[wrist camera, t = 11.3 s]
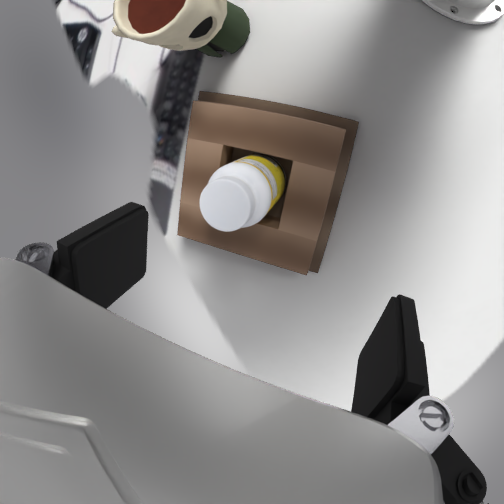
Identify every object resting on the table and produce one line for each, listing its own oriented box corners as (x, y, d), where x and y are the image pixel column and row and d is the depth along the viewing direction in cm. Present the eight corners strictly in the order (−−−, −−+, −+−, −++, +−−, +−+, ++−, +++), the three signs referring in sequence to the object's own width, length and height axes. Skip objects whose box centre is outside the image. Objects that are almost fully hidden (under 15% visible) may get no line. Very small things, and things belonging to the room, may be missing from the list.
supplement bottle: (245, 211, 33) (204, 247, 25) (228, 161, 32) (179, 181, 23) (294, 198, 31) (269, 232, 23) (277, 145, 29) (244, 158, 21)
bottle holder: (203, 91, 30) (185, 89, 27) (358, 122, 27) (359, 122, 24) (185, 229, 37) (168, 240, 34) (318, 269, 34) (313, 286, 31)
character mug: (184, 76, 30) (100, 67, 19) (172, 22, 28) (90, -3, 16) (282, 45, 26) (234, 5, 15) (265, -12, 23) (211, -70, 12)
